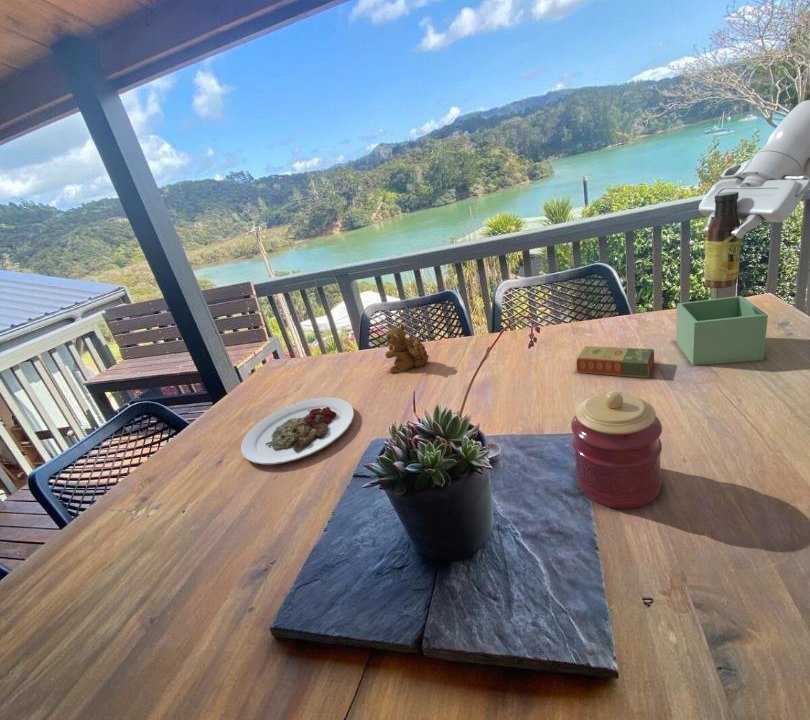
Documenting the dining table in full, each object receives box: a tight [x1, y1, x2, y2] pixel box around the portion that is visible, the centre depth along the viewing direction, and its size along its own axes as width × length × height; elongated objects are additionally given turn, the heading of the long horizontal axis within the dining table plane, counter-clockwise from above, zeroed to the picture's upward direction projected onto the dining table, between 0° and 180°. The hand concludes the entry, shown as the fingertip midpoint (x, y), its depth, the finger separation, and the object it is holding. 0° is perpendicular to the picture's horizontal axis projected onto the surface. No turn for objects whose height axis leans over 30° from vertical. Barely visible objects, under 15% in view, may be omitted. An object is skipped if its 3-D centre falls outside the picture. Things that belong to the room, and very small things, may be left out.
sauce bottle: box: [703, 192, 742, 289], centre depth 94 cm, size 6×6×20 cm
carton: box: [576, 345, 655, 379], centre depth 107 cm, size 8×16×4 cm, turn 55°
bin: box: [675, 295, 769, 366], centre depth 103 cm, size 14×14×11 cm
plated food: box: [240, 397, 355, 465], centre depth 114 cm, size 30×30×3 cm
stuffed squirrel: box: [384, 325, 430, 374], centre depth 135 cm, size 10×14×13 cm
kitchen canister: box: [570, 390, 663, 510], centre depth 70 cm, size 13×13×18 cm
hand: (720, 235), depth 94 cm, fingers closed on sauce bottle, 6 cm apart
